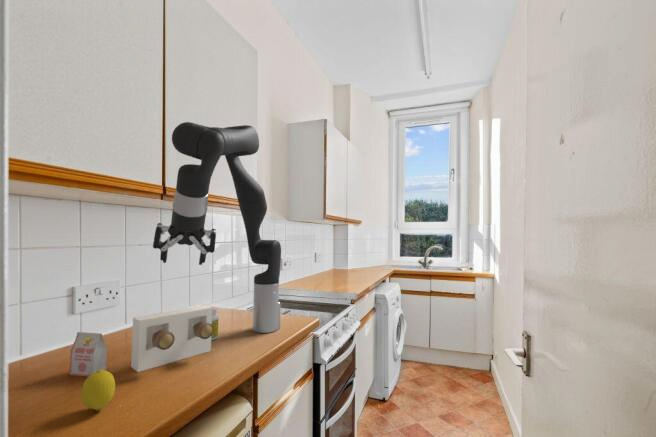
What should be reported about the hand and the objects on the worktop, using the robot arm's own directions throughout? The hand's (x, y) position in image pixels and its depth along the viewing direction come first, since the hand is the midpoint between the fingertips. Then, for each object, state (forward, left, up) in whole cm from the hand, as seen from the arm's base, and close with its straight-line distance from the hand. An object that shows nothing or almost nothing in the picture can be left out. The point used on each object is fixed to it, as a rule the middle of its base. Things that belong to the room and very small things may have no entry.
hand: (182, 261), depth 83 cm
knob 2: (-8, -5, -22) cm, 24 cm away
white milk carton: (+16, -16, -28) cm, 36 cm away
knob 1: (+3, -5, -22) cm, 23 cm away
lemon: (+19, +6, -28) cm, 35 cm away
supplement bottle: (-18, -18, -28) cm, 38 cm away
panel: (-3, -10, -28) cm, 30 cm away
